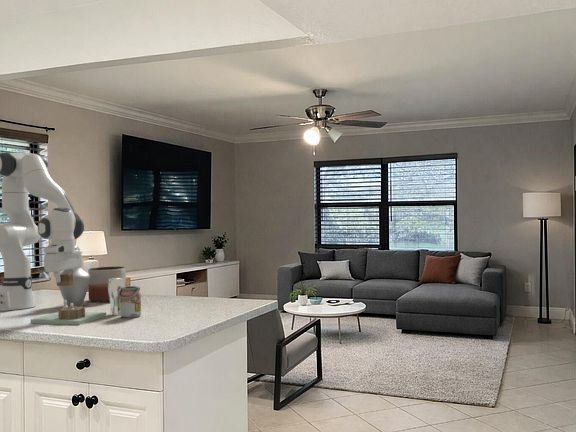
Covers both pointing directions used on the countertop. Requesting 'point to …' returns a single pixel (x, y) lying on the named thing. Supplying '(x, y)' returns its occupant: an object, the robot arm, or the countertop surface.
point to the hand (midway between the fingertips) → (64, 281)
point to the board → (69, 316)
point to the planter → (103, 281)
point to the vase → (76, 287)
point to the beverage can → (130, 301)
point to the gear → (66, 280)
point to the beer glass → (115, 294)
